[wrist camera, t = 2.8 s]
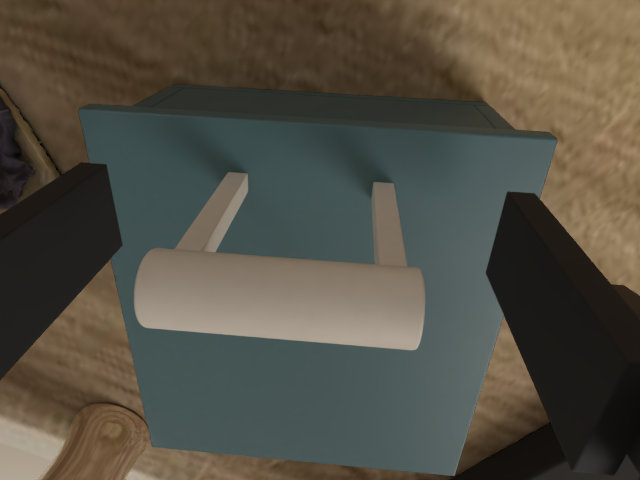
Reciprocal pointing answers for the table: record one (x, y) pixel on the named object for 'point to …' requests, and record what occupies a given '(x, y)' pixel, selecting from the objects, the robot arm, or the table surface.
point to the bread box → (327, 106)
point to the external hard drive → (538, 462)
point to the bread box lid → (309, 278)
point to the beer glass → (100, 445)
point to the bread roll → (20, 157)
